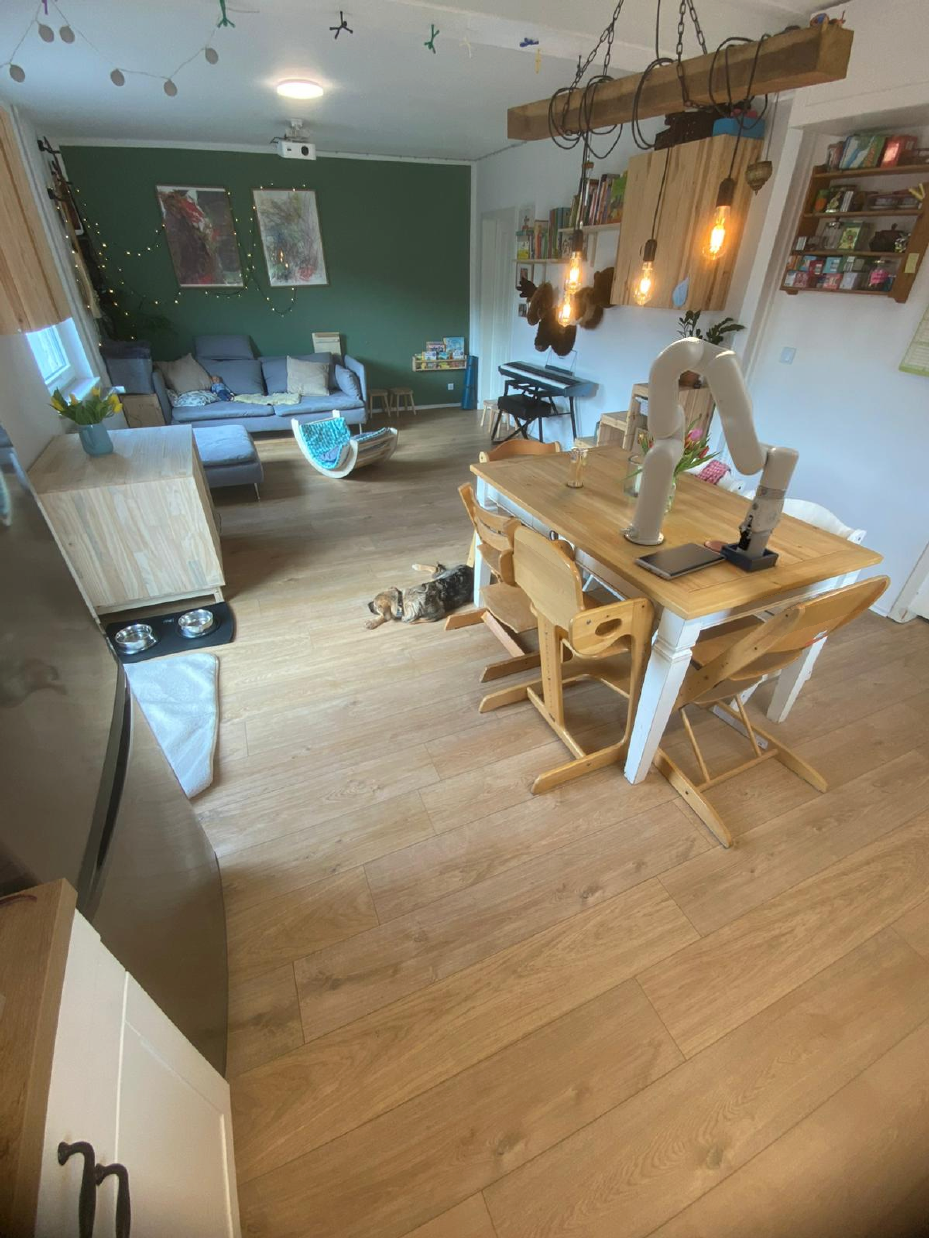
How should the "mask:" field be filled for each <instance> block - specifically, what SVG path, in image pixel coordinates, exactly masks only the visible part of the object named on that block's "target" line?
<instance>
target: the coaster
mask: <svg viewBox="0 0 929 1238" xmlns="http://www.w3.org/2000/svg"><path fill="white" fill-rule="evenodd" d="M727 544H729V542H726V541H721V540H707V541H706V542H705V544H704V545H705V546H704V547H706V548H708V549H710V550H712V551H714V552H717V553H720V551H721V548H722V545H727Z"/></svg>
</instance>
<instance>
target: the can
mask: <svg viewBox="0 0 929 1238" xmlns="http://www.w3.org/2000/svg"><path fill="white" fill-rule="evenodd" d="M750 528H752V526H751V527H750ZM769 530H770V529H769ZM769 530H764V531H761V532H754V533H753V534H752V536H751V537H750V539H751V541H750V544H749V547H748V549H747V551H744V550H742V549H740V548H738V547H737V550H736V551H737V552H739V553H741V554H743V555H745V556H747V557H749V558H751V559H754V558H758V557H762V555H763V553H764V550H765V548H767V546H768V541H769V539H770V536H771V535H772V534H771V533H770V531H769ZM750 531H751V530H747V532H748V533H749V532H750Z"/></svg>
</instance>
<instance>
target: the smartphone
mask: <svg viewBox="0 0 929 1238" xmlns="http://www.w3.org/2000/svg"><path fill="white" fill-rule="evenodd" d="M725 558H726V557H725V556H723V555H721V554H720V552H715V551H712V550H710V549H708V548H707V547H706V546H703V545H701V544H699V543H697V542H695V541H689V542H686V543H682V544H680V545H675V546H673V547H670V548H666V549H663V550H659V551H656V552H654V553H650V554H646V555H644V556H640V557H637V558H635V561H634V563H635V564H637V565H638V566H641V567H642V568H644V569H646V570H648V571H650V572H652V573H654V574H655V575H657V576H659V577H661V578H662V579H665V580H671V579H674V578H677V577H681V576H684V575H686V574H689V573H692V572H695V571H698V570H700V569H704V568H707V567H710V566H713V565H715V564H717V563H718V564H719V563H721V562H724V561H726V560H725Z"/></svg>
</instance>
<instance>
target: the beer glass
mask: <svg viewBox="0 0 929 1238" xmlns="http://www.w3.org/2000/svg"><path fill="white" fill-rule="evenodd" d="M588 452H589V451H588V449H587V448H586V447H581V446H574V447H572V448H571V450H570V455H569V460H568V461H569V462H568V467H569V469H568V470H569V475H568V481H567V486H568V487H571V488H581V487H582V486H583V475H584V472H585V469H586V465H587V462H588Z"/></svg>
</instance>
